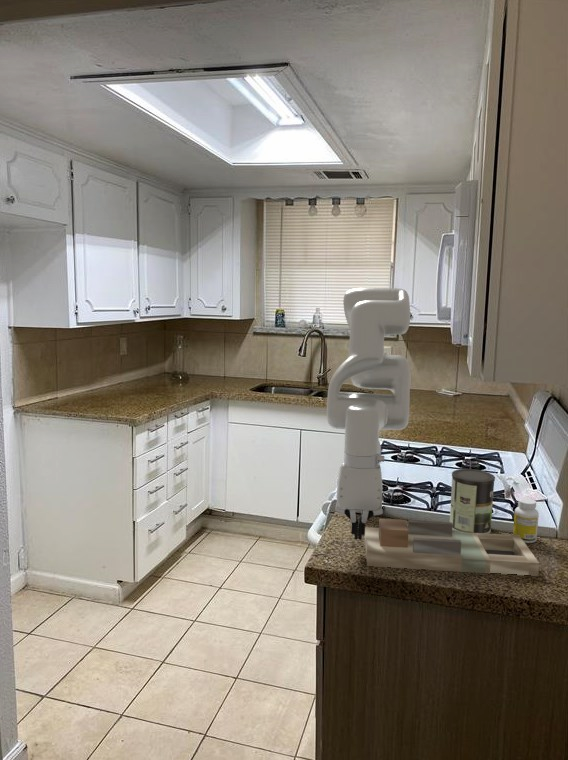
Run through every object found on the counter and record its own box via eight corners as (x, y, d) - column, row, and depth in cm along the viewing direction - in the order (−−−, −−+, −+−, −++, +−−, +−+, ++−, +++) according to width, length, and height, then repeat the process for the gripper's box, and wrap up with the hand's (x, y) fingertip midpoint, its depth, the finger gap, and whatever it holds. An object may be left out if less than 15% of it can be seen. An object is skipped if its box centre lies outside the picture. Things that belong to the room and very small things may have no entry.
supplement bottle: (518, 532, 145) (521, 495, 143) (540, 539, 141) (543, 500, 139) (508, 538, 141) (511, 500, 140) (530, 545, 137) (534, 506, 136)
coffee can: (487, 522, 151) (491, 470, 149) (493, 538, 141) (498, 483, 139) (447, 518, 153) (450, 467, 151) (450, 534, 143) (453, 479, 141)
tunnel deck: (364, 538, 140) (365, 515, 139) (518, 547, 136) (520, 523, 135) (367, 566, 126) (368, 540, 125) (538, 576, 123) (540, 549, 122)
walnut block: (378, 534, 135) (379, 518, 134) (404, 536, 134) (405, 519, 134) (380, 546, 129) (381, 529, 128) (407, 547, 128) (408, 530, 128)
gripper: (393, 456, 132) (389, 532, 135) (327, 453, 134) (325, 528, 137) (396, 466, 125) (392, 546, 128) (327, 463, 126) (324, 542, 129)
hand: (357, 537), depth 132 cm, fingers closed
